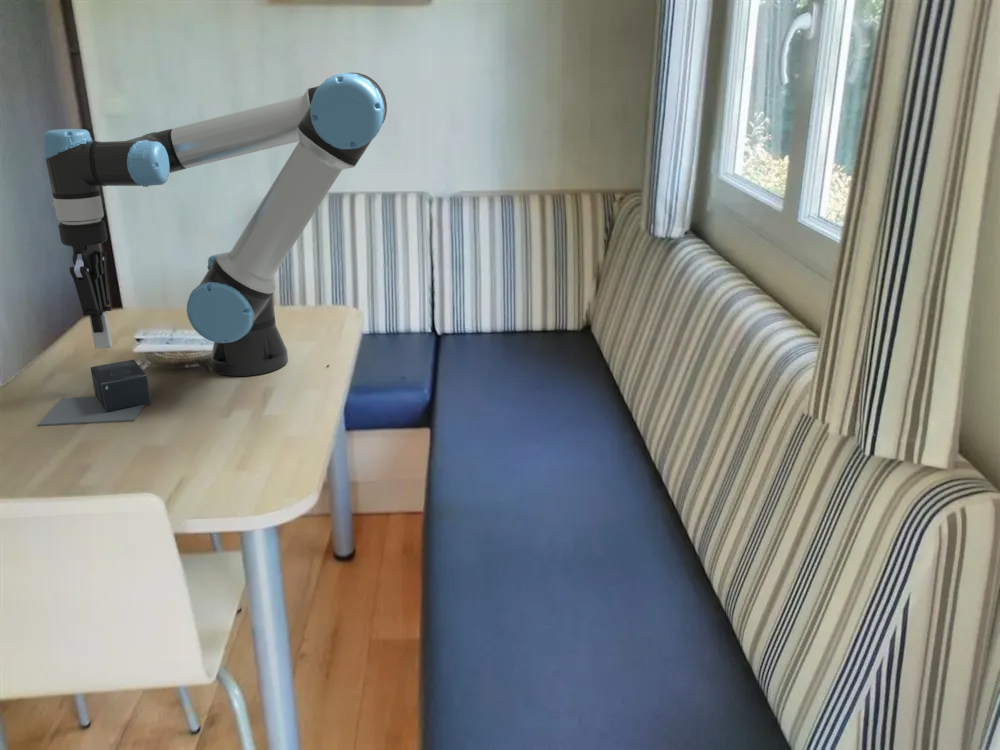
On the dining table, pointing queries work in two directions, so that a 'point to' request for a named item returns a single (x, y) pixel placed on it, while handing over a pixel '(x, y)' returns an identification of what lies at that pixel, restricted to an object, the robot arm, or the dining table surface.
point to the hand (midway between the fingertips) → (103, 346)
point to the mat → (86, 412)
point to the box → (120, 385)
